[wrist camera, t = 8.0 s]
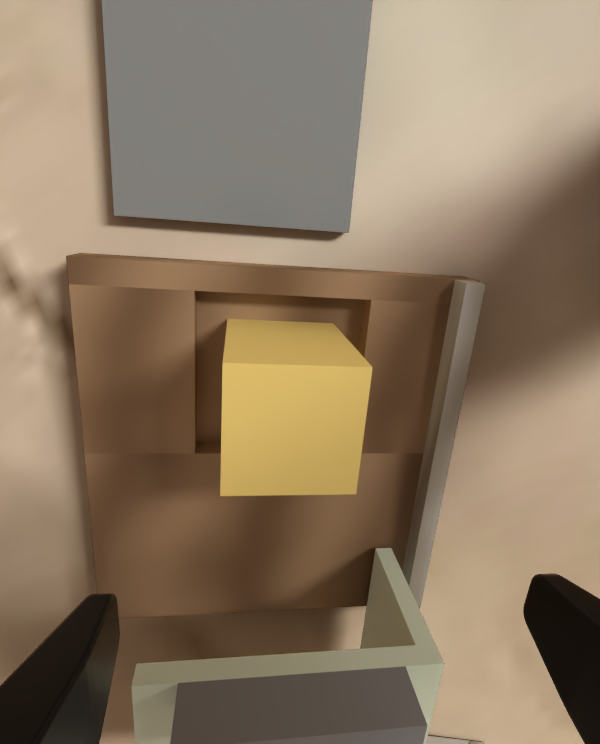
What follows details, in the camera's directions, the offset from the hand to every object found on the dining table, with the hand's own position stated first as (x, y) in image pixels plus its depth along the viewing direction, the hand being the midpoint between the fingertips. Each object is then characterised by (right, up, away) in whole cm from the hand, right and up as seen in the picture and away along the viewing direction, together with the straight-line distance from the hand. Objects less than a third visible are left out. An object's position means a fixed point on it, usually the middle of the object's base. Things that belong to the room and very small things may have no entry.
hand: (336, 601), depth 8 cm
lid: (-2, -9, +15) cm, 17 cm away
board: (-2, 0, +13) cm, 14 cm away
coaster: (-3, +14, +9) cm, 17 cm away
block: (-2, +4, +12) cm, 12 cm away
